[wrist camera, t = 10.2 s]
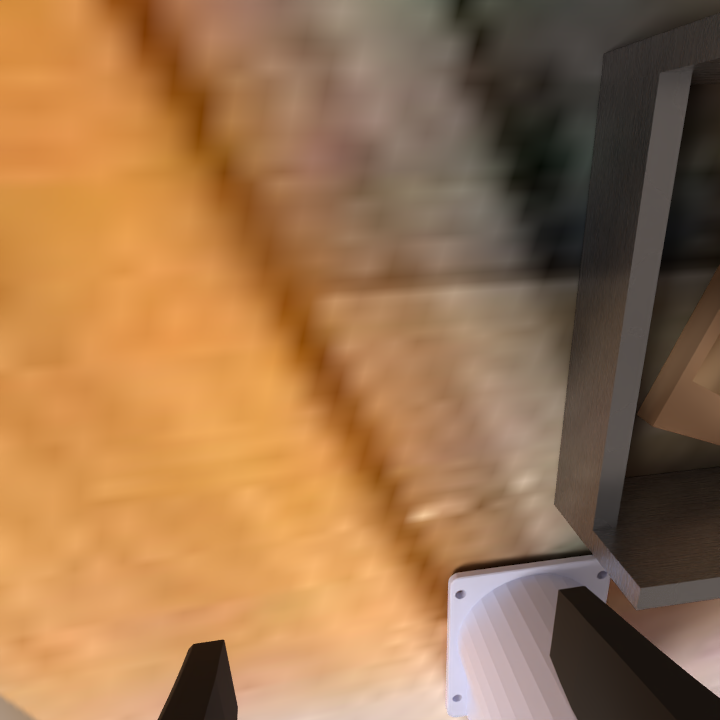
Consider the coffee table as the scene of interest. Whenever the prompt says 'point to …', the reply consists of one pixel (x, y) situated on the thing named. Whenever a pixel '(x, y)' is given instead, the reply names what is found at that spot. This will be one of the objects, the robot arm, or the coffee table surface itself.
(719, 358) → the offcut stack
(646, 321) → the rack
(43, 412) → the coffee table surface
